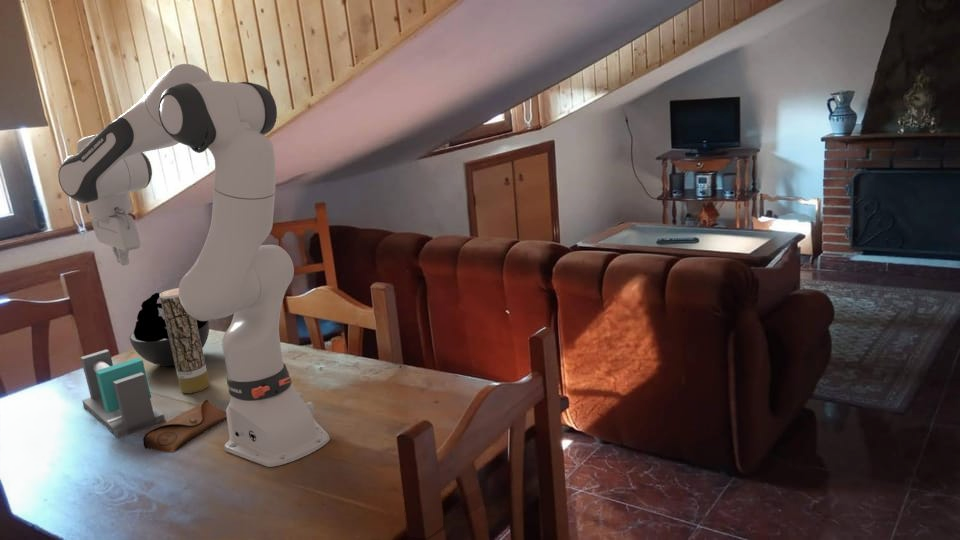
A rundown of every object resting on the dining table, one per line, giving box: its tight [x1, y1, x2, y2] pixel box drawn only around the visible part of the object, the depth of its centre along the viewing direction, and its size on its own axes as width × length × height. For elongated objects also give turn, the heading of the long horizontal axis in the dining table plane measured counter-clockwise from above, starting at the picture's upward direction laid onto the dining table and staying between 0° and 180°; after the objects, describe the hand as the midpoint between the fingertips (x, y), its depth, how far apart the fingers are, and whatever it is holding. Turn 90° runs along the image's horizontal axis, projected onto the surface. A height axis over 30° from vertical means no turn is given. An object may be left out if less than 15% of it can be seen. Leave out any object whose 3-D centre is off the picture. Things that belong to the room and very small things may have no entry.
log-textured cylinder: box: [159, 287, 210, 394], centre depth 179 cm, size 7×7×25 cm
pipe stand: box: [80, 349, 166, 439], centre depth 171 cm, size 26×10×12 cm, turn 43°
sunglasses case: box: [142, 399, 227, 454], centre depth 160 cm, size 18×7×7 cm, turn 153°
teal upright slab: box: [95, 357, 152, 413], centre depth 165 cm, size 3×9×9 cm, turn 133°
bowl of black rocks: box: [129, 292, 210, 367], centre depth 198 cm, size 20×20×19 cm
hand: (123, 264), depth 173 cm, fingers closed
